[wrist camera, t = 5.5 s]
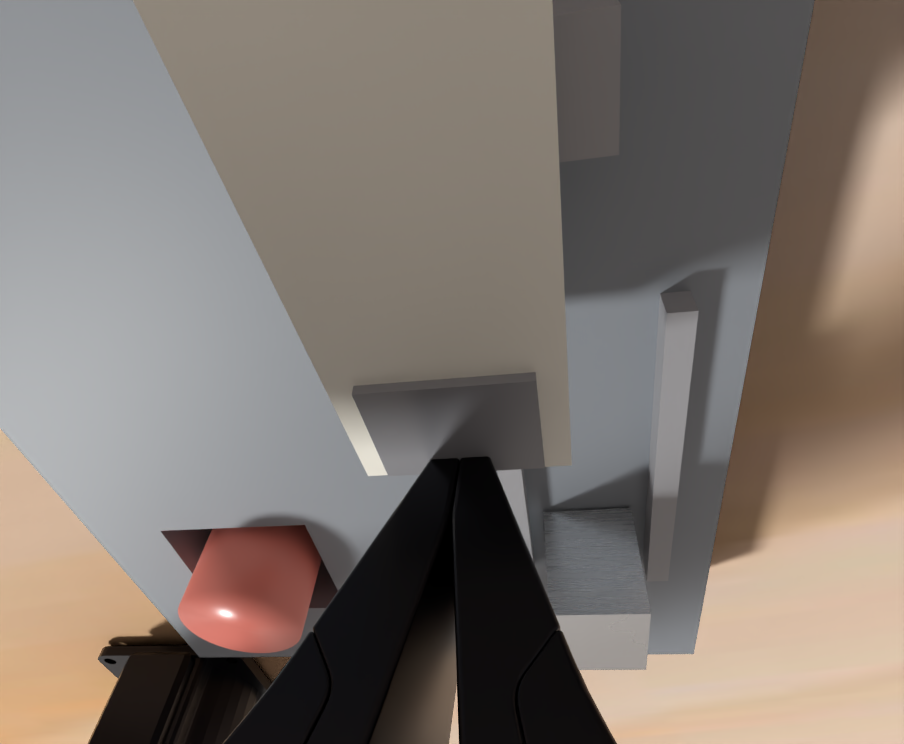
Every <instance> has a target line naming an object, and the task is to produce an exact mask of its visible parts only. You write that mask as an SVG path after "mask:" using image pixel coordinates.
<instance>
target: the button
mask: <svg viewBox="0 0 904 744" xmlns="http://www.w3.org/2000/svg"><path fill="white" fill-rule="evenodd" d="M321 560H322V558H321V556H320V554H319V552H318V550H317V548H316V546H315V544H314V542H313V540H312V538H311V536H310V534H309V532H308V530H307V528H306V526H305V525H290V526H266V527H242V528H217V529H212V531H211V533H210V535H209V537H208V540H207V542H206V544H205V547H204V549H203V551H202V554H201V556H200V558H199V561H198V563H197V565H196V567H195V570H194V572H193V574H192V577H191V579H190V581H189V584H188V586H187V588H186V590H185V593H184V595H183V597H182V600H181V602H180V604H179V607H178V615H179V618H180V620H181V622H182V623H183V624H184V625H185V626H186V627H187V628H188V629H189V630H190V631H191V632H192V633H194V634H195V635H197V636H198V637H200V638H202V639H204V640H206V641H208V642H210V643H213V644H215V645H218V646H221V647H224V648H228V649H231V650H236V651H242V652H249V653H272V652H278V651H283V650H286V649H288V648H291V647H292V646H294V645H296V644H297V643H298V642H299V640H300V639H301V636H302V632H303V628H304V625H305V621H306V617H307V613H308V609H309V605H310V602H311V598H312V594H313V590H314V586H315V583H316V579H317V575H318V571H319V567H320V563H321Z"/></svg>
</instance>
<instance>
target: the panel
mask: <svg viewBox="0 0 904 744" xmlns="http://www.w3.org/2000/svg"><path fill="white" fill-rule="evenodd" d="M814 1H815V0H552V2H553V26H554V50H555V74H556V98H557V122H558V146H559V170H560V194H561V218H562V242H563V266H564V290H565V314H566V338H567V362H568V386H569V410H570V434H571V458H572V465H570V466H551V467H545V468H537V469H518V470H499V471H496V472H497V474H498V477H499V479H500V482H501V484H502V487H503V489H504V491H505V494H506V496H507V499H508V501H509V504H510V506H511V508H512V511H513V513H514V516H515V518H516V521H517V523H518V525H519V528H520V530H521V533H522V535H523V537H524V540H525V542H526V545H527V547H528V550H529V552H530V554H531V557H532V559H533V562H534V564H535V567H536V569H537V571H538V574H539V576H540V579H541V581H542V583H543V586H544V588H545V591H546V593H547V596H548V583H547V565H546V546H545V528H544V512H545V511H568V510H592V509H616V508H631V510H632V516H633V521H634V526H635V532H636V537H637V542H638V548H639V553H640V558H641V564H642V569H643V574H644V580H645V585H646V590H647V596H648V601H649V606H650V612H651V619H650V630H649V642H648V653H647V654H694V649H695V643H696V638H697V633H698V627H699V622H700V616H701V611H702V606H703V600H704V595H705V589H706V584H707V579H708V573H709V568H710V562H711V557H712V552H713V546H714V541H715V535H716V530H717V525H718V519H719V514H720V508H721V503H722V498H723V492H724V487H725V481H726V476H727V471H728V465H729V460H730V454H731V449H732V444H733V438H734V433H735V427H736V422H737V417H738V411H739V406H740V400H741V395H742V390H743V384H744V379H745V373H746V368H747V363H748V357H749V352H750V346H751V341H752V336H753V330H754V325H755V319H756V314H757V309H758V303H759V298H760V292H761V287H762V282H763V276H764V271H765V265H766V260H767V255H768V249H769V244H770V238H771V233H772V228H773V222H774V217H775V211H776V206H777V201H778V195H779V190H780V184H781V179H782V174H783V168H784V163H785V157H786V152H787V147H788V141H789V136H790V130H791V125H792V120H793V114H794V109H795V103H796V98H797V93H798V87H799V82H800V76H801V71H802V66H803V60H804V55H805V49H806V44H807V39H808V33H809V28H810V23H811V17H812V12H813V6H814ZM0 429H1V430H2V431H3V432H4V433H5V434H6V436H7V437H8V438H9V439H10V440H11V441H12V442H13V444H14V445H15V446H16V447H17V448H18V449H19V450H20V452H21V453H22V454H23V455H24V456H25V457H26V459H27V460H28V461H29V462H30V463H31V464H32V465H33V467H34V468H35V469H36V470H37V471H38V472H39V473H40V475H41V476H42V477H43V478H44V479H45V480H46V481H47V483H48V484H49V485H50V486H51V487H52V488H53V490H54V491H55V492H56V493H57V494H58V495H59V496H60V498H61V499H62V500H63V501H64V502H65V503H66V504H67V506H68V507H69V508H70V509H71V510H72V511H73V513H74V514H75V515H76V516H77V517H78V518H79V519H80V521H81V522H82V523H83V524H84V525H85V526H86V527H87V529H88V530H89V531H90V532H91V533H92V534H93V535H94V537H95V538H96V539H97V540H98V541H99V542H100V544H101V545H102V546H103V547H104V548H105V549H106V550H107V552H108V553H109V554H110V555H111V556H112V557H113V558H114V560H115V561H116V562H117V563H118V564H119V565H120V567H121V568H122V569H123V570H124V571H125V572H126V573H127V575H128V576H129V577H130V578H131V579H132V580H133V581H134V583H135V584H136V585H137V586H138V587H139V588H140V589H141V591H142V592H143V593H144V594H145V595H146V596H147V598H148V599H149V600H150V601H151V602H152V603H153V604H154V606H155V607H156V608H157V609H158V610H159V611H160V612H161V614H162V615H163V616H164V617H165V618H166V619H167V620H168V622H169V623H170V624H171V625H172V626H173V627H174V629H175V630H176V631H177V632H178V633H179V634H180V635H181V637H182V638H183V639H184V640H185V641H186V642H187V643H188V645H189V646H190V647H191V648H192V649H193V650H194V652H195V653H196V654H197V655H198V656H199V657H292V656H293V654H294V653H295V652H296V650H297V649H298V647H299V646H300V644H301V643H302V641H303V640H304V639H305V637H306V636H307V634H308V633H309V632H313V626H314V625H315V623H316V622H317V620H318V619H319V618H320V616H321V615H322V613H323V612H324V610H325V609H326V608H327V606H328V605H329V603H330V602H331V600H332V599H333V598H334V596H335V595H336V593H337V592H338V590H339V589H340V588H341V586H342V585H343V583H344V582H345V580H346V579H347V578H348V576H349V575H350V573H351V572H352V570H353V569H354V568H355V566H356V565H357V563H358V562H359V560H360V559H361V558H362V556H363V555H364V553H365V552H366V550H367V549H368V548H369V546H370V545H371V543H372V542H373V540H374V539H375V538H376V536H377V535H378V533H379V532H380V530H381V529H382V528H383V526H384V525H385V523H386V522H387V520H388V519H389V518H390V516H391V515H392V513H393V512H394V510H395V509H396V508H397V506H398V505H399V503H400V502H401V500H402V499H403V498H404V496H405V495H406V493H407V492H408V490H409V489H410V488H411V486H412V485H413V483H414V482H415V480H416V479H417V478H418V476H419V475H404V476H388V475H381V476H368V475H367V473H366V471H365V469H364V467H363V465H362V463H361V461H360V459H359V457H358V455H357V453H356V451H355V449H354V447H353V445H352V443H351V441H350V439H349V437H348V435H347V433H346V431H345V429H344V427H343V425H342V422H341V420H340V418H339V416H338V414H337V412H336V410H335V408H334V406H333V404H332V402H331V400H330V398H329V396H328V394H327V392H326V390H325V388H324V386H323V384H322V382H321V380H320V378H319V376H318V374H317V372H316V370H315V368H314V366H313V364H312V362H311V360H310V358H309V356H308V354H307V352H306V350H305V348H304V346H303V344H302V342H301V340H300V338H299V336H298V334H297V332H296V330H295V328H294V325H293V323H292V321H291V319H290V317H289V315H288V313H287V311H286V309H285V307H284V305H283V303H282V301H281V299H280V297H279V295H278V293H277V291H276V289H275V287H274V285H273V283H272V281H271V279H270V277H269V275H268V273H267V271H266V269H265V267H264V265H263V263H262V261H261V259H260V257H259V255H258V253H257V251H256V249H255V247H254V245H253V243H252V241H251V239H250V237H249V235H248V233H247V231H246V228H245V226H244V224H243V222H242V220H241V218H240V216H239V214H238V212H237V210H236V208H235V206H234V204H233V202H232V200H231V198H230V196H229V194H228V192H227V190H226V188H225V186H224V184H223V182H222V180H221V178H220V176H219V174H218V172H217V170H216V168H215V166H214V164H213V162H212V160H211V158H210V156H209V154H208V152H207V150H206V148H205V146H204V144H203V142H202V140H201V138H200V136H199V134H198V131H197V129H196V127H195V125H194V123H193V121H192V119H191V117H190V115H189V113H188V111H187V109H186V107H185V105H184V103H183V101H182V99H181V97H180V95H179V93H178V91H177V89H176V87H175V85H174V83H173V81H172V79H171V77H170V75H169V73H168V71H167V69H166V67H165V65H164V63H163V61H162V59H161V57H160V55H159V53H158V51H157V49H156V47H155V45H154V43H153V41H152V39H151V37H150V34H149V32H148V30H147V28H146V26H145V24H144V22H143V20H142V18H141V16H140V14H139V12H138V10H137V8H136V6H135V4H134V2H133V0H0ZM290 525H305V526H306V528H307V530H308V532H309V534H310V536H311V538H312V540H313V542H314V544H315V546H316V548H317V550H318V552H319V554H320V556H321V558H322V560H321V563H320V567H319V571H318V575H317V579H316V583H315V586H314V590H313V594H312V598H311V602H310V605H309V609H308V613H307V617H306V621H305V625H304V628H303V632H302V636H301V639H300V640H299V642H298V643H297V644H296V645H294V646H292V647H291V648H288V649H286V650H283V651H278V652H272V653H249V652H242V651H236V650H231V649H228V648H224V647H221V646H218V645H215V644H213V643H210V642H208V641H206V640H204V639H202V638H200V637H198V636H197V635H195V634H194V633H192V632H191V631H190V630H189V629H188V628H187V627H186V626H185V625H184V624H183V623H182V622H181V620H180V618H179V615H178V607H179V604H180V602H181V600H182V597H183V595H184V593H185V590H186V588H187V586H188V584H189V581H190V579H191V577H192V574H193V572H194V570H195V567H196V565H197V563H198V561H199V558H200V556H201V554H202V551H203V549H204V547H205V544H206V542H207V540H208V537H209V535H210V533H211V531H212V529H217V528H242V527H266V526H290ZM313 633H314V632H313Z"/></svg>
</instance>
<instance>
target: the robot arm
mask: <svg viewBox="0 0 904 744" xmlns="http://www.w3.org/2000/svg"><path fill="white" fill-rule="evenodd" d="M313 632H314V633H313ZM313 632H309V633H308V634H307V636H306V637H305V639H304V640H303V641H302V643H301V644H300V646H299V647H298V649H297V650H296V652H295V653H294V654H293V656H292V657H291V658H290V660H289V661H288V662H287V664H286V665H285V667H284V668H283V669H282V671H281V672H280V673H279V675H278V676H277V677H276V679H275V680H274V681H273V683H272V684H271V682H270V681H269V680H268V679H267V677H266V676H265V675H264V673H263V672H262V671H261V669H260V668H259V667H258V665H257V664H256V663H255V661H254V660H253V659H252V657H199V656H198V655H197V654H196V653H195V652H194V650H193V649H192V648H191V647H190V646H108V647H104V648H103V649H102V651H101V653H100V655H99V657H98V660H99V661H100V662H101V663H102V664H103V665H104V666H105V667H106V668H107V669H108V670H110V671H111V672H112V673H113V674H114V675H115V676H116V677H117V678H118V680H117V682H116V684H115V687H114V689H113V691H112V693H111V695H110V697H109V699H108V701H107V704H106V706H105V708H104V710H103V712H102V714H101V716H100V719H99V721H98V723H97V725H96V727H95V729H94V731H93V733H92V736H91V738H90V740H89V742H88V744H449V738H450V731H451V723H452V715H453V708H454V700H455V693H456V685H457V696H458V724H459V744H617V743H616V741H615V739H614V738H613V736H612V734H611V732H610V731H609V729H608V727H607V725H606V723H605V721H604V719H603V717H602V716H601V714H600V712H599V710H598V708H597V706H596V704H595V702H594V701H593V699H592V697H591V695H590V693H589V691H588V689H587V687H586V684H585V682H584V680H583V678H582V676H581V673H580V671H579V669H578V667H577V664H576V662H575V660H574V658H573V656H572V653H571V651H570V648H569V646H568V643H567V641H566V639H565V636H564V634H563V632H562V631H561V629H560V625H559V622H558V620H557V617H556V615H555V613H554V610H553V608H552V605H551V603H550V600H549V598H548V596H547V593H546V591H545V588H544V586H543V583H542V581H541V579H540V576H539V574H538V571H537V569H536V567H535V564H534V562H533V559H532V557H531V554H530V552H529V550H528V547H527V545H526V542H525V540H524V537H523V535H522V533H521V530H520V528H519V525H518V523H517V521H516V518H515V516H514V513H513V511H512V508H511V506H510V504H509V501H508V499H507V496H506V494H505V491H504V489H503V487H502V484H501V482H500V479H499V477H498V474H497V472H496V470H495V467H494V465H493V462H492V460H491V458H490V457H488V456H483V457H465V458H461V459H460V460H459V459H457V458H447V459H431V460H429V462H428V463H427V465H426V466H425V468H424V469H423V470H422V472H421V473H420V475H419V476H418V478H417V479H416V480H415V482H414V483H413V485H412V486H411V488H410V489H409V490H408V492H407V493H406V495H405V496H404V498H403V499H402V500H401V502H400V503H399V505H398V506H397V508H396V509H395V510H394V512H393V513H392V515H391V516H390V518H389V519H388V520H387V522H386V523H385V525H384V526H383V528H382V529H381V530H380V532H379V533H378V535H377V536H376V538H375V539H374V540H373V542H372V543H371V545H370V546H369V548H368V549H367V550H366V552H365V553H364V555H363V556H362V558H361V559H360V560H359V562H358V563H357V565H356V566H355V568H354V569H353V570H352V572H351V573H350V575H349V576H348V578H347V579H346V580H345V582H344V583H343V585H342V586H341V588H340V589H339V590H338V592H337V593H336V595H335V596H334V598H333V599H332V600H331V602H330V603H329V605H328V606H327V608H326V609H325V610H324V612H323V613H322V615H321V616H320V618H319V619H318V620H317V622H316V623H315V625H314V626H313Z"/></svg>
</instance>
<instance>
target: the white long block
mask: <svg viewBox="0 0 904 744" xmlns="http://www.w3.org/2000/svg"><path fill="white" fill-rule="evenodd" d="M133 2H134V4H135V6H136V8H137V10H138V12H139V14H140V16H141V18H142V20H143V22H144V24H145V26H146V28H147V30H148V32H149V34H150V37H151V39H152V41H153V43H154V45H155V47H156V49H157V51H158V53H159V55H160V57H161V59H162V61H163V63H164V65H165V67H166V69H167V71H168V73H169V75H170V77H171V79H172V81H173V83H174V85H175V87H176V89H177V91H178V93H179V95H180V97H181V99H182V101H183V103H184V105H185V107H186V109H187V111H188V113H189V115H190V117H191V119H192V121H193V123H194V125H195V127H196V129H197V131H198V134H199V136H200V138H201V140H202V142H203V144H204V146H205V148H206V150H207V152H208V154H209V156H210V158H211V160H212V162H213V164H214V166H215V168H216V170H217V172H218V174H219V176H220V178H221V180H222V182H223V184H224V186H225V188H226V190H227V192H228V194H229V196H230V198H231V200H232V202H233V204H234V206H235V208H236V210H237V212H238V214H239V216H240V218H241V220H242V222H243V224H244V226H245V228H246V231H247V233H248V235H249V237H250V239H251V241H252V243H253V245H254V247H255V249H256V251H257V253H258V255H259V257H260V259H261V261H262V263H263V265H264V267H265V269H266V271H267V273H268V275H269V277H270V279H271V281H272V283H273V285H274V287H275V289H276V291H277V293H278V295H279V297H280V299H281V301H282V303H283V305H284V307H285V309H286V311H287V313H288V315H289V317H290V319H291V321H292V323H293V325H294V328H295V330H296V332H297V334H298V336H299V338H300V340H301V342H302V344H303V346H304V348H305V350H306V352H307V354H308V356H309V358H310V360H311V362H312V364H313V366H314V368H315V370H316V372H317V374H318V376H319V378H320V380H321V382H322V384H323V386H324V388H325V390H326V392H327V394H328V396H329V398H330V400H331V402H332V404H333V406H334V408H335V410H336V412H337V414H338V416H339V418H340V420H341V422H342V425H343V427H344V429H345V431H346V433H347V435H348V437H349V439H350V441H351V443H352V445H353V447H354V449H355V451H356V453H357V455H358V457H359V459H360V461H361V463H362V465H363V467H364V469H365V471H366V473H367V475H368V476H381V475H388V476H404V475H420V473H421V472H422V470H423V469H424V468H425V466H426V465H427V463H428V462H429V460H431V459H447V458H457V459H459V460H460V459H461V458H465V457H483V456H488V457H490V458H491V460H492V462H493V465H494V467H495V470H496V471H499V470H518V469H537V468H545V467H551V466H570V465H572V458H571V434H570V410H569V386H568V362H567V338H566V314H565V290H564V266H563V242H562V218H561V194H560V170H559V146H558V122H557V98H556V74H555V50H554V26H553V2H552V0H133Z"/></svg>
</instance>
